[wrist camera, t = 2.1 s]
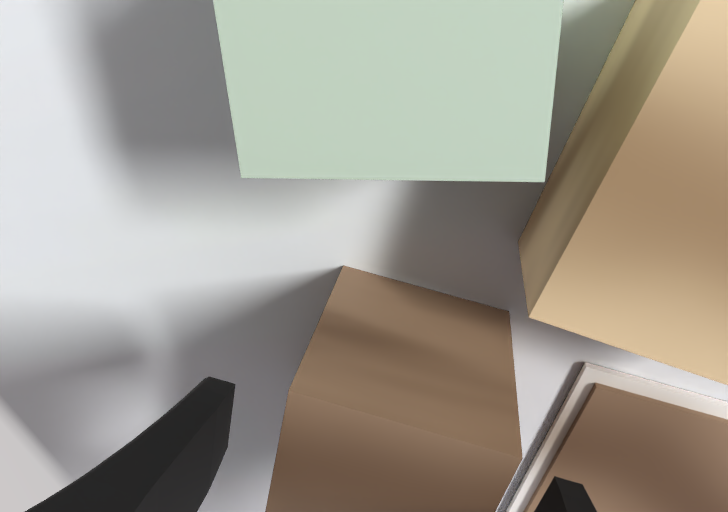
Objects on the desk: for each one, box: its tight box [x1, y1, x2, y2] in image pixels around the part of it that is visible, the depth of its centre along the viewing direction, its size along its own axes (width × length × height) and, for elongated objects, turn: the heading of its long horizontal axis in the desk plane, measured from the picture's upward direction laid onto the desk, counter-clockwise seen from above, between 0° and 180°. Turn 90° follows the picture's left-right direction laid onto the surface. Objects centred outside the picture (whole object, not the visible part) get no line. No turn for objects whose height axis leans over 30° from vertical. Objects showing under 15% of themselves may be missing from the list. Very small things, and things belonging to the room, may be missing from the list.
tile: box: [506, 362, 728, 512], centre depth 16 cm, size 7×7×1 cm
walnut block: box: [265, 266, 522, 512], centre depth 14 cm, size 4×4×5 cm
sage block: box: [213, 0, 564, 182], centre depth 9 cm, size 4×4×5 cm
